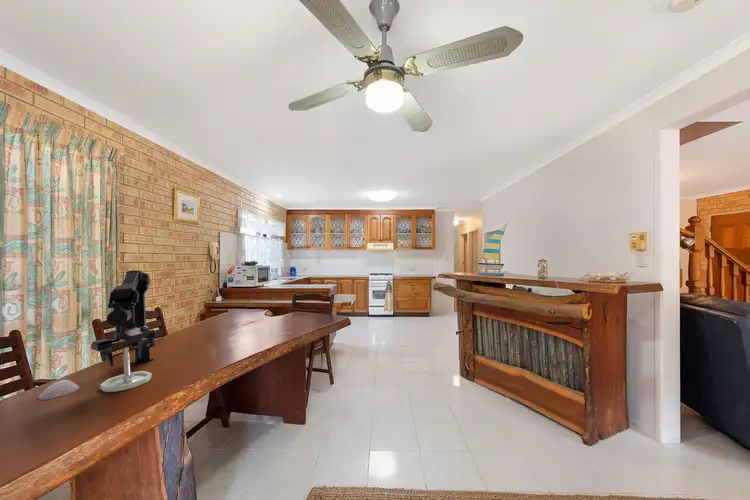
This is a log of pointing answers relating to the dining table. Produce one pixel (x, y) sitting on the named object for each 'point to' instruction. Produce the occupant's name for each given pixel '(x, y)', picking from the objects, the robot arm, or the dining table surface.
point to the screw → (126, 368)
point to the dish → (118, 385)
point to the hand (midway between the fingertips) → (126, 362)
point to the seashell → (58, 390)
